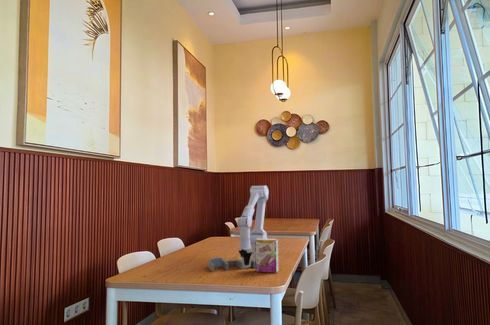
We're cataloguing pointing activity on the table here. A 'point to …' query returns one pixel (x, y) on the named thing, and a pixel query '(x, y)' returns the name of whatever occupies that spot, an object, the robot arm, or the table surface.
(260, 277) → the table surface
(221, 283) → the table surface
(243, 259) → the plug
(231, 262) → the e-shaped shelf rack
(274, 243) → the candy bar box
